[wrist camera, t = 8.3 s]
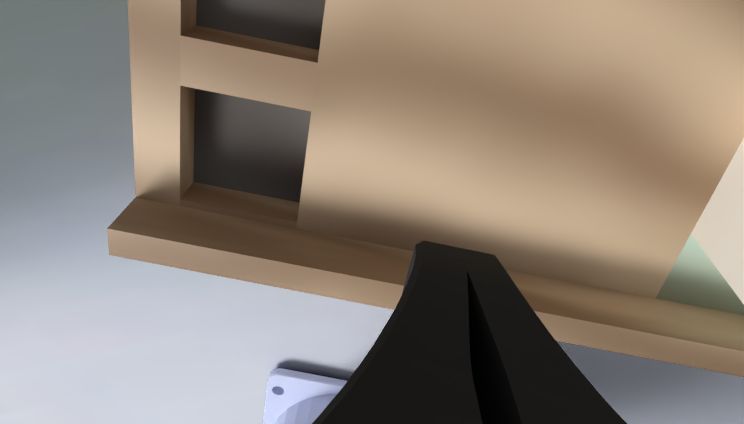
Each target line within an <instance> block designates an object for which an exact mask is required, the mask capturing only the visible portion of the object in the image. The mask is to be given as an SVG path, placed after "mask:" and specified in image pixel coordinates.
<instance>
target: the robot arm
mask: <svg viewBox="0 0 744 424" xmlns="http://www.w3.org/2000/svg"><path fill="white" fill-rule="evenodd" d="M276 386H279V387H281V388H278V387H276ZM263 424H627V423H626V422H625V421H624V420H623V419H622V418H621V417H620V416H619V415H618V414H617V413H616V412H615V411H614V410H613V408H612V407H611V406H610V405H609V404H608V403H607V402H606V401H605V400H604V399H603V397H602V396H601V395H600V394H599V393H598V392H597V391H596V389H595V388H594V387H593V386H592V385H591V383H590V382H589V381H588V380H587V379H586V377H585V376H584V375H583V374H582V373H581V371H580V370H579V369H578V368H577V367H576V366H575V364H574V363H573V362H572V361H571V359H570V358H569V357H568V356H567V354H566V353H565V352H564V351H563V349H562V348H561V347H560V345H559V344H558V343H557V342H556V340H555V339H554V338H553V336H552V335H551V334H550V332H549V331H548V330H547V328H546V327H545V326H544V324H543V323H542V322H541V320H540V319H539V317H538V316H537V315H536V313H535V312H534V310H533V309H532V308H531V306H530V305H529V303H528V302H527V301H526V299H525V298H524V296H523V295H522V293H521V292H520V290H519V289H518V288H517V286H516V285H515V283H514V282H513V280H512V279H511V277H510V276H509V274H508V273H507V272H506V270H505V269H504V267H503V266H502V264H501V263H500V261H499V260H498V259H497V257H496V256H495V255H493V254H488V253H483V252H478V251H473V250H468V249H464V248H459V247H454V246H449V245H444V244H439V243H434V242H429V241H424V240H423V241H421V242H420V243H418V244H416V245H415V248H414V252H413V255H412V259H411V263H410V266H409V270H408V274H407V277H406V281H405V285H404V288H403V292H402V296H401V298H400V300H399V302H398V304H397V306H396V308H395V310H394V312H393V314H392V315H391V317H390V319H389V320H388V322H387V324H386V325H385V327H384V329H383V330H382V332H381V334H380V335H379V337H378V339H377V340H376V342H375V343H374V345H373V347H372V348H371V350H370V351H369V352H368V354H367V355H366V357H365V358H364V360H363V361H362V362H361V364H360V365H359V367H358V368H357V369H356V371H355V372H354V373H353V375H352V376H351V377H350V379H349V380H348V381H346V380H341V379H335V378H330V377H325V376H320V375H314V374H309V373H304V372H298V371H293V370H288V369H283V368H277V369H273V370H272V371H271V372H270V375H269V378H268V383H267V391H266V400H265V408H264V417H263Z"/></svg>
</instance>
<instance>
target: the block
mask: <svg viewBox="0 0 744 424" xmlns="http://www.w3.org/2000/svg"><path fill="white" fill-rule="evenodd" d="M691 234H692V236H693V237H694V238H695V240H696V241H697V242H698V244H699V245H700V246H701V248H702V249H703V250H704V252H705V253H706V254H707V256H708V257H709V259H710V260H711V261H712V263H713V264H714V265H715V267H716V268H717V269H718V271H719V272H720V273H721V275H722V276H723V277H724V279H725V280H726V281H727V283H728V284H729V285H730V287H731V288H732V290H733V291H734V292H735V294H736V295H737V296H738V298H739V299H740V300H741V302H742V303H743V304H744V138H743V140H742V142H741V144H740V145H739V147H738V149H737V151H736V153H735V155H734V156H733V158H732V160H731V162H730V164H729V165H728V167H727V169H726V171H725V173H724V175H723V176H722V178H721V180H720V182H719V184H718V185H717V187H716V189H715V191H714V193H713V195H712V196H711V198H710V200H709V202H708V204H707V206H706V207H705V209H704V211H703V213H702V215H701V216H700V218H699V220H698V222H697V224H696V226H695V227H694V229H693V231H692V233H691Z"/></svg>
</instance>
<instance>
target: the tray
mask: <svg viewBox="0 0 744 424" xmlns="http://www.w3.org/2000/svg"><path fill="white" fill-rule="evenodd" d="M128 18H129V43H130V67H131V92H132V117H133V142H134V167H135V191H136V198H135V199H134V200H133V201H132V202H131V203H130V204H129V205H128V206H127V208H126V209H125V210H124V211H123V212H122V213H121V214H120V215H119V216H118V217H117V218H116V220H115V221H114V222H113V223H112V224H111V225H110V226H109V227H108V228H107V231H108V245H109V255H113V256H118V257H123V258H128V259H134V260H139V261H144V262H149V263H154V264H160V265H165V266H170V267H175V268H180V269H186V270H191V271H196V272H201V273H206V274H212V275H217V276H222V277H227V278H232V279H238V280H243V281H248V282H253V283H258V284H264V285H269V286H274V287H279V288H284V289H290V290H295V291H300V292H305V293H310V294H316V295H321V296H326V297H331V298H336V299H341V300H347V301H352V302H357V303H362V304H367V305H373V306H378V307H383V308H388V309H393V310H395V308H396V306H397V304H398V302H399V300H400V298H401V296H402V292H403V288H404V285H405V281H406V277H407V274H408V270H409V266H410V263H411V259H412V255H413V252H414V248H415V245H416V244H418V243H420V242H421V241H423V240H424V241H429V242H434V243H439V244H444V245H449V246H454V247H459V248H464V249H468V250H473V251H478V252H483V253H488V254H493V255H495V256H496V257H497V259H498V260H499V261H500V263H501V264H502V266H503V267H504V269H505V270H506V272H507V273H508V274H509V276H510V277H511V279H512V280H513V282H514V283H515V285H516V286H517V288H518V289H519V290H520V292H521V293H522V295H523V296H524V298H525V299H526V301H527V302H528V303H529V305H530V306H531V308H532V309H533V310H534V312H535V313H536V315H537V316H538V317H539V319H540V320H541V322H542V323H543V324H544V326H545V327H546V328H547V330H548V331H549V332H550V334H551V335H552V336H553V338H554V339H555V340H556V341H560V342H565V343H570V344H575V345H581V346H586V347H591V348H596V349H601V350H607V351H612V352H617V353H622V354H627V355H633V356H638V357H643V358H648V359H653V360H659V361H664V362H669V363H674V364H679V365H685V366H690V367H695V368H700V369H705V370H711V371H716V372H721V373H726V374H731V375H737V376H742V377H744V304H743V303H742V302H741V300H740V299H739V298H738V296H737V295H736V294H735V292H734V291H733V290H732V288H731V287H730V285H729V284H728V283H727V281H726V280H725V279H724V277H723V276H722V275H721V273H720V272H719V271H718V269H717V268H716V267H715V265H714V264H713V263H712V261H711V260H710V259H709V257H708V256H707V254H706V253H705V252H704V250H703V249H702V248H701V246H700V245H699V244H698V242H697V241H696V240H695V238H694V237H693V236H692V234H691V233H692V231H693V229H694V227H695V226H696V224H697V222H698V220H699V218H700V216H701V215H702V213H703V211H704V209H705V207H706V206H707V204H708V202H709V200H710V198H711V196H712V195H713V193H714V191H715V189H716V187H717V185H718V184H719V182H720V180H721V178H722V176H723V175H724V173H725V171H726V169H727V167H728V165H729V164H730V162H731V160H732V158H733V156H734V155H735V153H736V151H737V149H738V147H739V145H740V144H741V142H742V140H743V138H744V0H128Z"/></svg>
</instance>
